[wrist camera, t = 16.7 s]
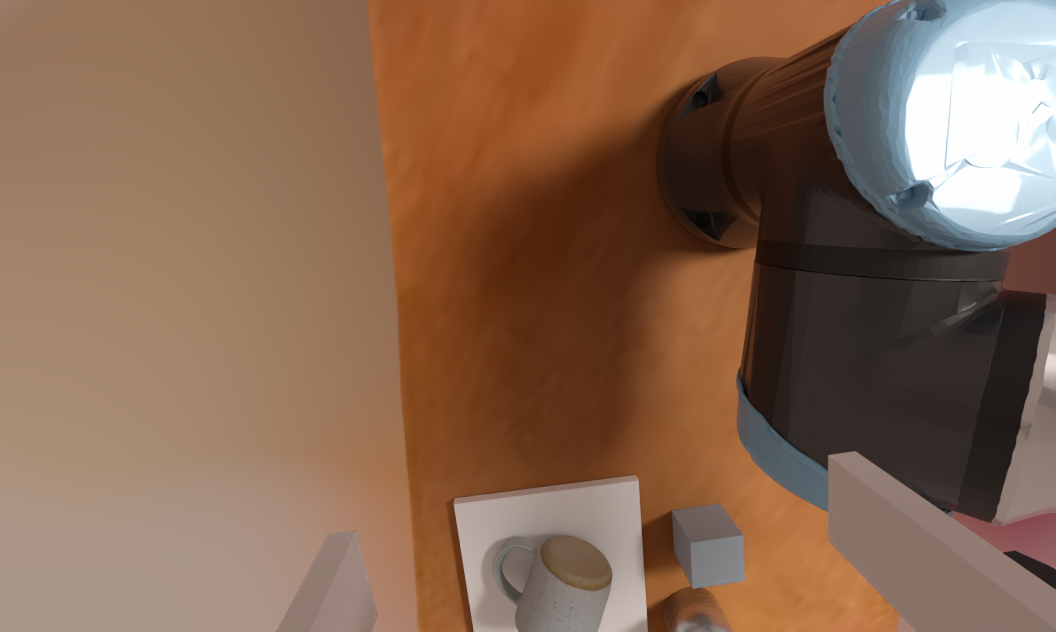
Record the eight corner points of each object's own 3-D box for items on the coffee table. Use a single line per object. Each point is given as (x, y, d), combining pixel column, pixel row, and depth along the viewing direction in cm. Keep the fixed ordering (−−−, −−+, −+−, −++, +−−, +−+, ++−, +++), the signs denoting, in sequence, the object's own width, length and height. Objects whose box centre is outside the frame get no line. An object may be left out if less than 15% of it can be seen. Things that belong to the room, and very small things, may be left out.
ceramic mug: (608, 537, 49) (626, 597, 41) (585, 606, 50) (598, 675, 43) (505, 515, 48) (504, 572, 40) (484, 586, 49) (480, 653, 42)
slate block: (719, 503, 50) (743, 535, 45) (720, 545, 51) (744, 581, 46) (671, 509, 50) (690, 542, 45) (673, 552, 51) (692, 588, 46)
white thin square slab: (635, 474, 48) (638, 480, 47) (645, 625, 52) (647, 633, 51) (454, 498, 48) (453, 504, 47) (478, 648, 52) (477, 657, 51)
